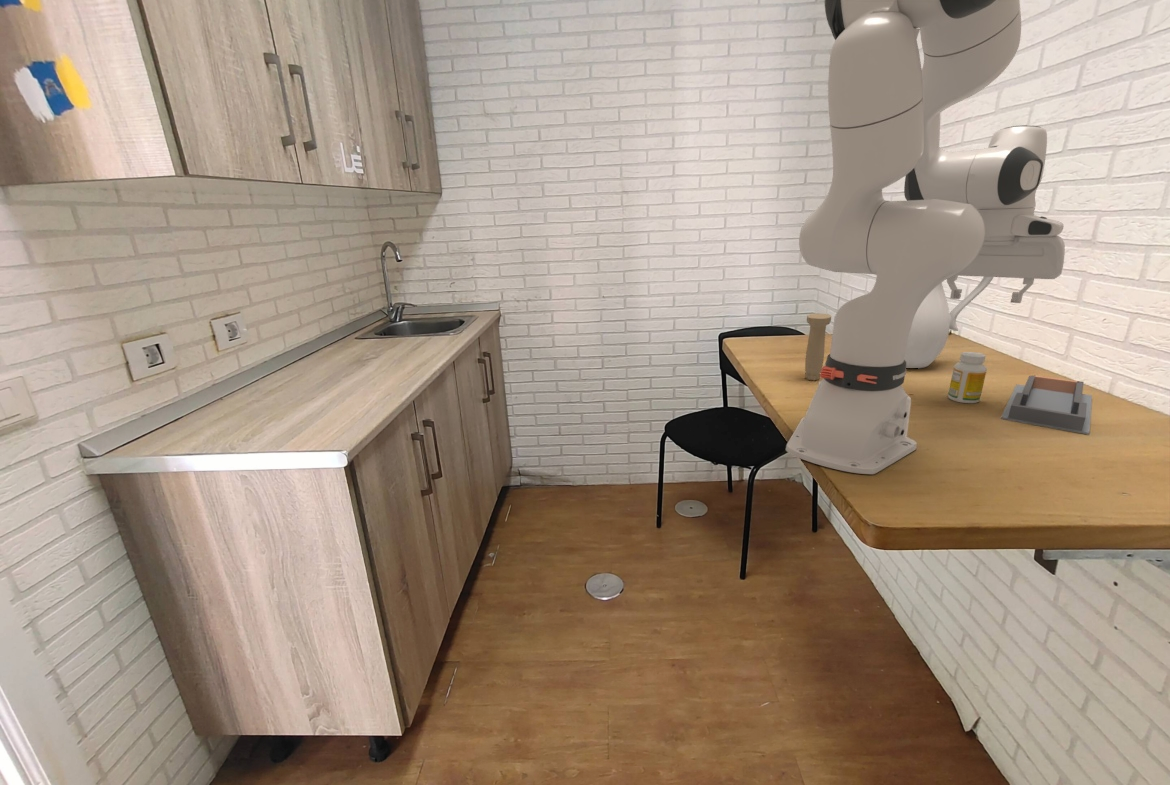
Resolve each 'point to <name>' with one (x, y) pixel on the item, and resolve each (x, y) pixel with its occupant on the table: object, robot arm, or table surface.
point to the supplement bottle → (968, 378)
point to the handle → (816, 345)
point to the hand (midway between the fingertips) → (984, 300)
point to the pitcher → (934, 325)
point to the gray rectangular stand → (1050, 404)
